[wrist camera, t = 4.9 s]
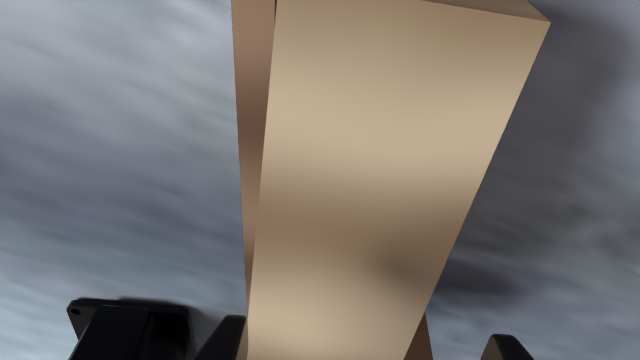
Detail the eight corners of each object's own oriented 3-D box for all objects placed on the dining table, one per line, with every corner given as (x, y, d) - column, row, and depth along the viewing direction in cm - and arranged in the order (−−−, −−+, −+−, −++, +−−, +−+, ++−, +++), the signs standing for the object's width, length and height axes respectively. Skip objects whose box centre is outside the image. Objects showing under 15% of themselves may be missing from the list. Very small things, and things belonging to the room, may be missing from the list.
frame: (418, 279, 23) (437, 395, 18) (257, 268, 23) (234, 380, 18) (549, -220, 12) (685, -260, 7) (242, -242, 12) (175, -296, 7)
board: (386, 296, 18) (393, 381, 16) (260, 279, 18) (243, 362, 15) (498, -24, 11) (551, 22, 9) (296, -60, 11) (279, -24, 8)
